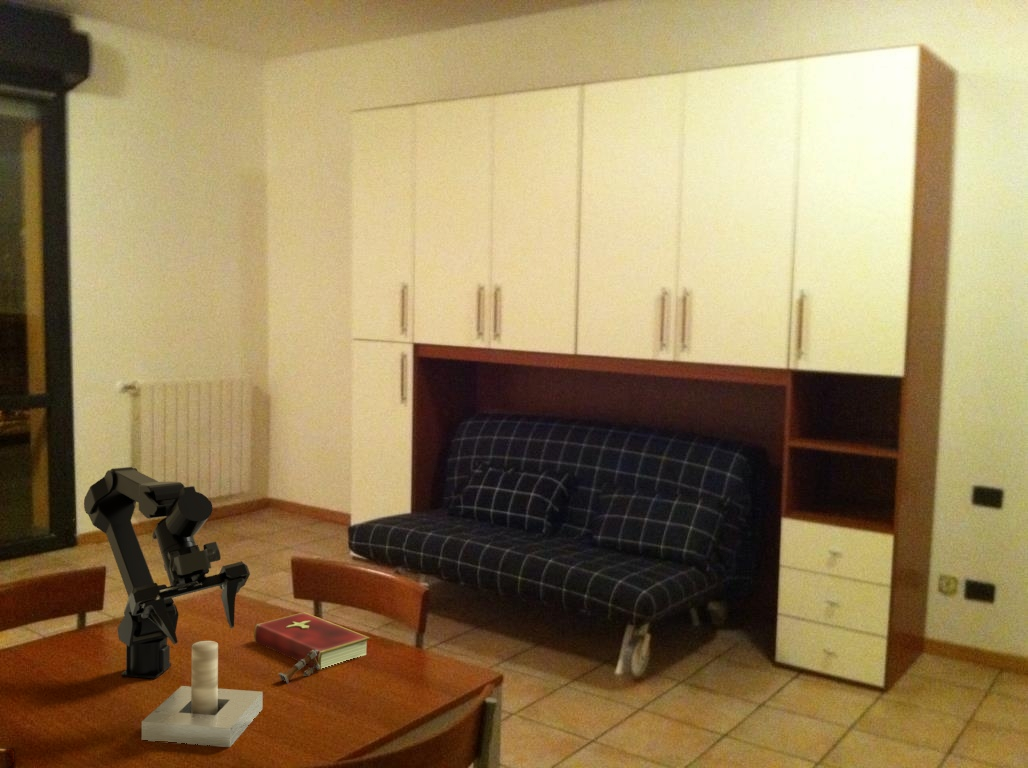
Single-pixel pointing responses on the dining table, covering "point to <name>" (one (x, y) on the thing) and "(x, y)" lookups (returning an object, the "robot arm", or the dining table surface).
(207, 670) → the ball
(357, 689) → the dining table surface
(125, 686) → the dining table surface
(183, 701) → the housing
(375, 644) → the dining table surface
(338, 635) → the hardcover book
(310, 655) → the wooden post with brackets
